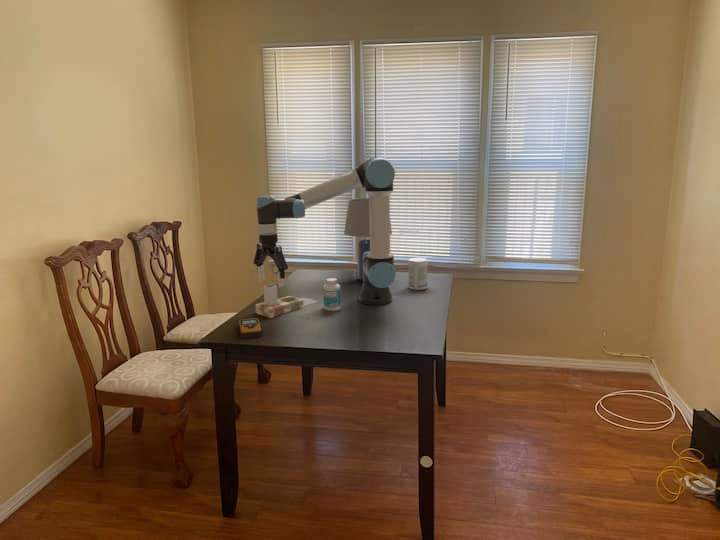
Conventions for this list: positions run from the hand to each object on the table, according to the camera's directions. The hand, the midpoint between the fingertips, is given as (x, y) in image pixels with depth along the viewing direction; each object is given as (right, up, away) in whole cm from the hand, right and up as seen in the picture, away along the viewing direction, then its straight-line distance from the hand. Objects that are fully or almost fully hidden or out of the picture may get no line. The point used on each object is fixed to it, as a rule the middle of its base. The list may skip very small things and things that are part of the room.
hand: (271, 283), depth 219 cm
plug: (0, -13, +3) cm, 13 cm away
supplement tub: (+66, -4, +43) cm, 79 cm away
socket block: (+3, -12, +6) cm, 14 cm away
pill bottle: (+25, -12, +8) cm, 29 cm away
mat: (+11, -9, +18) cm, 23 cm away
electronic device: (-5, -18, -19) cm, 27 cm away
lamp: (+42, 0, +60) cm, 73 cm away
